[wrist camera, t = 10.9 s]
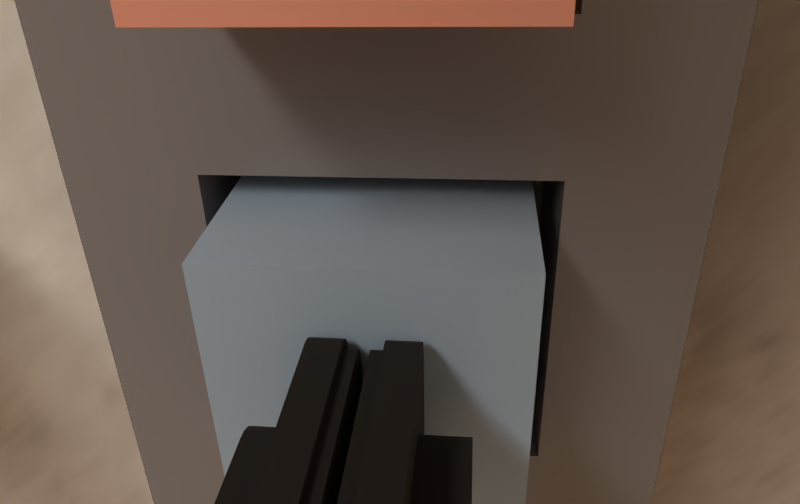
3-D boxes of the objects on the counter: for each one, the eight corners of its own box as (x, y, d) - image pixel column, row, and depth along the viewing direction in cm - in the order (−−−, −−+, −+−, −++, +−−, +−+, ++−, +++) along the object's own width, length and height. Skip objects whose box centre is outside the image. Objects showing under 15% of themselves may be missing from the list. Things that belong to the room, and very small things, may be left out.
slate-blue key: (252, 161, 13) (181, 263, 10) (529, 165, 12) (545, 274, 9) (281, 375, 15) (231, 510, 12) (514, 385, 15) (523, 529, 12)
